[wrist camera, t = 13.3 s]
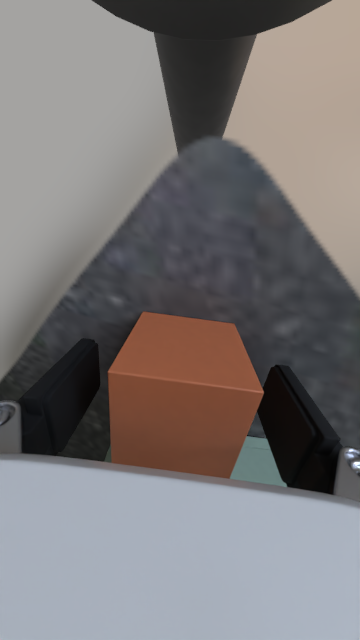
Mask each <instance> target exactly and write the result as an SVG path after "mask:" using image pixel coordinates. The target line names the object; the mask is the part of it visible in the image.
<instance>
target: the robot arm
mask: <svg viewBox="0 0 360 640" xmlns="http://www.w3.org/2000/svg"><path fill="white" fill-rule="evenodd" d="M99 387H100V369H99V352H98V343H95V341H94V340H91V339H84V338H83V339H81V340H80V341H79V342H78V343H77V344H76V345H75V346H74V347H73V348H72V349H71V350H70V351H69V352H68V353H67V354H66V355H64V356H63V357H62V358H61V359H60V360H59V361H58V362H57V363H56V364H55V365H54V366H53V367H52V368H51V369H50V370H49V371H48V372H47V373H46V374H45V375H44V376H43V377H42V378H41V379H40V380H39V381H38V382H37V383H36V384H34V385H33V386H32V387H31V388H30V389H29V390H28V391H27V392H26V393H25V394H24V395H23V396H22V397H21V398H20V399H19V400H18V401H17V402H15V401H1V402H0V640H360V450H359V449H357V448H354V447H350V446H345V447H342V445H341V444H340V442H339V441H340V438H339V437H338V435H337V434H336V433H335V431H334V430H333V428H332V427H331V425H330V424H329V423H328V421H327V420H326V418H325V417H324V416H323V414H322V413H321V411H320V410H319V408H318V407H317V406H316V404H315V403H314V401H313V400H312V399H311V397H310V396H309V394H308V393H307V391H306V390H305V389H304V387H303V386H302V384H301V383H300V382H299V380H298V379H297V377H296V376H295V374H294V373H293V372H292V370H291V369H290V367H289V366H284V365H275V366H274V367H271V369H270V372H269V374H268V377H267V379H266V382H265V384H264V387H263V391H264V394H263V397H262V399H261V402H260V404H259V407H258V409H257V412H258V415H259V418H260V421H261V424H262V426H263V429H264V432H265V435H266V438H267V440H268V443H269V446H270V449H271V452H272V454H273V457H274V460H275V463H276V466H277V469H278V471H279V474H280V477H281V479H282V481H283V482H284V483H286V485H287V487H283V486H276V485H269V484H262V483H255V482H248V481H241V480H234V479H227V478H220V477H213V476H205V475H198V474H191V473H183V472H176V471H169V470H161V469H154V468H146V467H139V466H131V465H123V464H116V463H108V462H100V461H93V460H85V459H76V458H67V457H58V456H56V455H57V453H58V452H62V450H63V449H64V448H65V446H66V444H67V443H68V441H69V439H70V437H71V436H72V434H73V432H74V431H75V429H76V427H77V425H78V424H79V422H80V420H81V419H82V417H83V415H84V414H85V412H86V410H87V408H88V407H89V405H90V403H91V402H92V400H93V398H94V397H95V395H96V393H97V391H98V390H99Z"/></svg>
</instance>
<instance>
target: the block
mask: <svg viewBox="0 0 360 640" xmlns="http://www.w3.org/2000/svg"><path fill="white" fill-rule="evenodd" d="M108 389H109V413H110V437H111V462H112V463H116V464H123V465H131V466H139V467H146V468H154V469H161V470H169V471H176V472H183V473H191V474H198V475H205V476H213V477H220V478H227V479H230V476H231V474H232V471H233V469H234V466H235V464H236V461H237V459H238V456H239V454H240V451H241V449H242V446H243V444H244V441H245V439H246V436H247V434H248V431H249V429H250V426H251V424H252V421H253V419H254V417H255V414H256V412H257V409H258V407H259V404H260V402H261V399H262V397H263V394H264V391H263V389H262V387H261V384H260V382H259V380H258V377H257V375H256V373H255V370H254V368H253V366H252V364H251V361H250V359H249V357H248V354H247V352H246V350H245V347H244V345H243V343H242V340H241V338H240V336H239V334H238V331H237V329H236V327H235V324H232V323H225V322H217V321H210V320H203V319H195V318H188V317H180V316H173V315H165V314H158V313H151V312H143V313H142V314H141V316H140V318H139V319H138V321H137V323H136V324H135V326H134V328H133V330H132V331H131V333H130V335H129V336H128V338H127V340H126V341H125V343H124V345H123V347H122V348H121V350H120V352H119V353H118V355H117V357H116V358H115V360H114V362H113V364H112V365H111V367H110V369H109V370H108Z"/></svg>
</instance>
